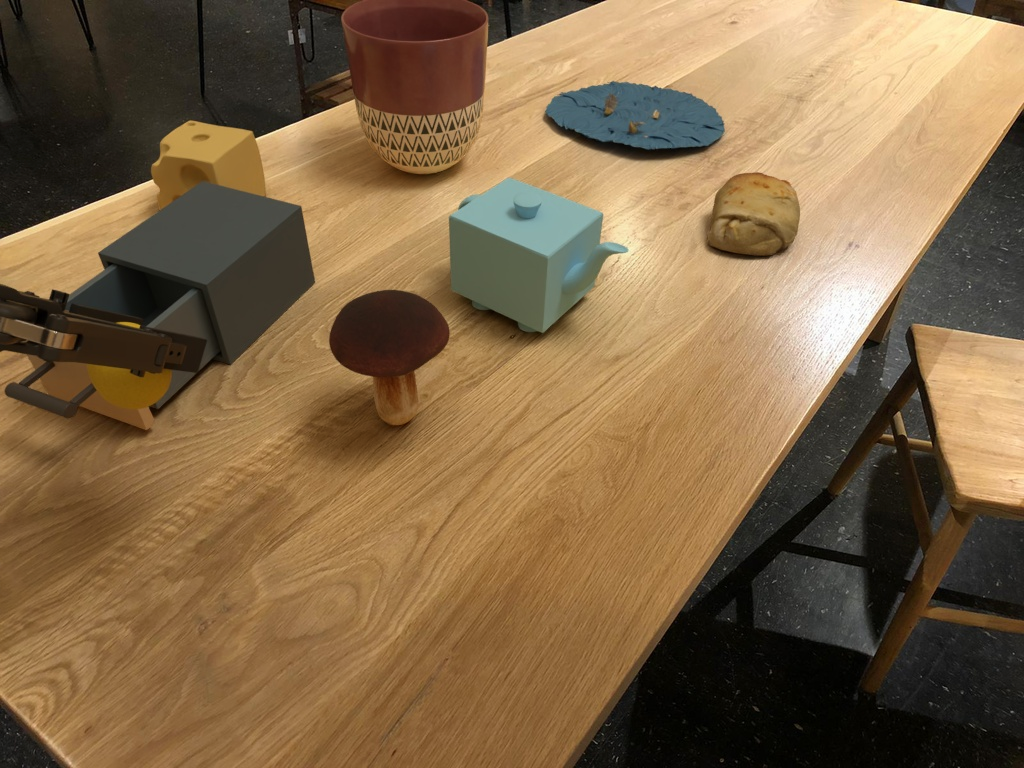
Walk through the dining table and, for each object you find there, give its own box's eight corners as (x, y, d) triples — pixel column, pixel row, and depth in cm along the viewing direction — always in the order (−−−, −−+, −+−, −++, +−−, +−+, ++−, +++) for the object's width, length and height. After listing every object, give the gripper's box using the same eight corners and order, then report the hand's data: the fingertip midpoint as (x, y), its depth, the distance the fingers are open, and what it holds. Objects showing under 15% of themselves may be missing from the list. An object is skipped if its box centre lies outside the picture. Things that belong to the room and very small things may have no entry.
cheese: (162, 219, 103) (139, 150, 96) (208, 182, 111) (190, 115, 104) (230, 233, 101) (212, 163, 94) (272, 195, 109) (258, 127, 102)
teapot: (433, 293, 93) (428, 191, 83) (488, 253, 99) (489, 153, 90) (588, 367, 84) (602, 261, 74) (637, 317, 90) (655, 214, 81)
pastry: (762, 202, 111) (777, 151, 105) (818, 247, 102) (837, 194, 97) (679, 220, 107) (690, 167, 101) (730, 268, 98) (745, 213, 93)
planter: (407, 211, 106) (396, 53, 92) (334, 159, 117) (313, 10, 102) (513, 170, 116) (518, 21, 101) (436, 125, 126) (431, -16, 112)
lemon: (152, 438, 58) (118, 358, 52) (92, 419, 59) (52, 339, 53) (197, 390, 61) (170, 312, 56) (139, 373, 63) (107, 295, 57)
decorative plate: (545, 89, 141) (546, 60, 138) (707, 94, 141) (713, 65, 137) (544, 157, 119) (545, 124, 116) (737, 163, 119) (744, 131, 115)
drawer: (109, 466, 70) (74, 398, 64) (7, 427, 74) (-35, 358, 68) (245, 337, 84) (227, 270, 78) (154, 308, 88) (130, 243, 82)
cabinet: (230, 365, 82) (206, 284, 75) (129, 332, 86) (97, 252, 78) (315, 282, 94) (301, 205, 86) (223, 256, 97) (202, 180, 90)
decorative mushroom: (376, 475, 72) (358, 354, 61) (324, 407, 78) (300, 287, 68) (473, 427, 77) (472, 307, 66) (417, 366, 83) (407, 249, 73)
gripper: (10, 261, 35) (279, 329, 58) (-256, 177, 40) (88, 270, 63) (-35, 415, 36) (251, 424, 58) (-297, 314, 40) (62, 358, 63)
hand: (166, 344), depth 60 cm, fingers closed on lemon, 5 cm apart
